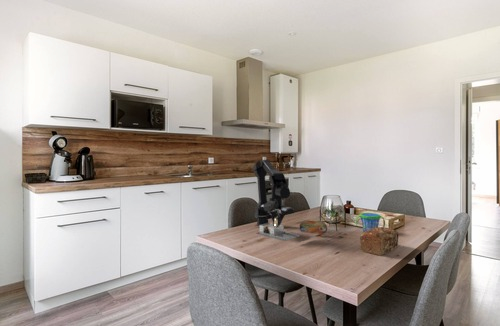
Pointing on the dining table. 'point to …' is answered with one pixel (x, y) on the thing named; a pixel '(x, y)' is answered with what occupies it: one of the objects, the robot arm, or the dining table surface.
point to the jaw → (276, 228)
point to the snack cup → (370, 220)
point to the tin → (313, 227)
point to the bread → (379, 240)
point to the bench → (282, 236)
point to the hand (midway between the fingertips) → (276, 224)
